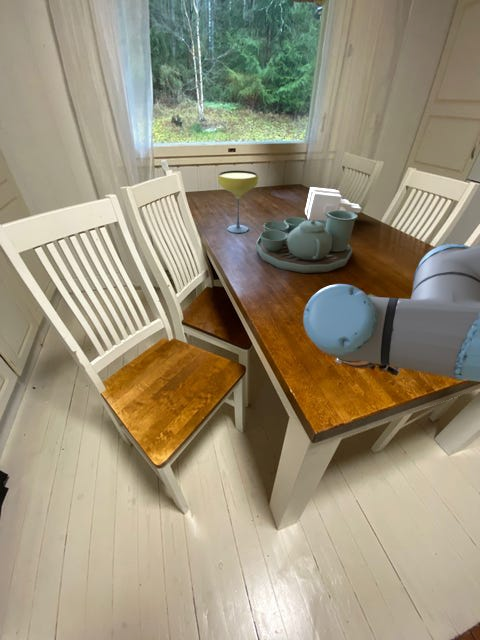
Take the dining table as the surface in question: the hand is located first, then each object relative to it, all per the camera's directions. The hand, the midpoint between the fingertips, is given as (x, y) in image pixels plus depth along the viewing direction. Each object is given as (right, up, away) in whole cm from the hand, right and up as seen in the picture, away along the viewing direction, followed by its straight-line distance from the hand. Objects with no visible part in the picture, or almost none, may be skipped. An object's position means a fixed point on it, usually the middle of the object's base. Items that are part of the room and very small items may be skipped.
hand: (373, 360), depth 60 cm
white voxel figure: (+21, +66, +92) cm, 116 cm away
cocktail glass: (-31, +55, +78) cm, 100 cm away
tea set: (-3, +38, +58) cm, 69 cm away
